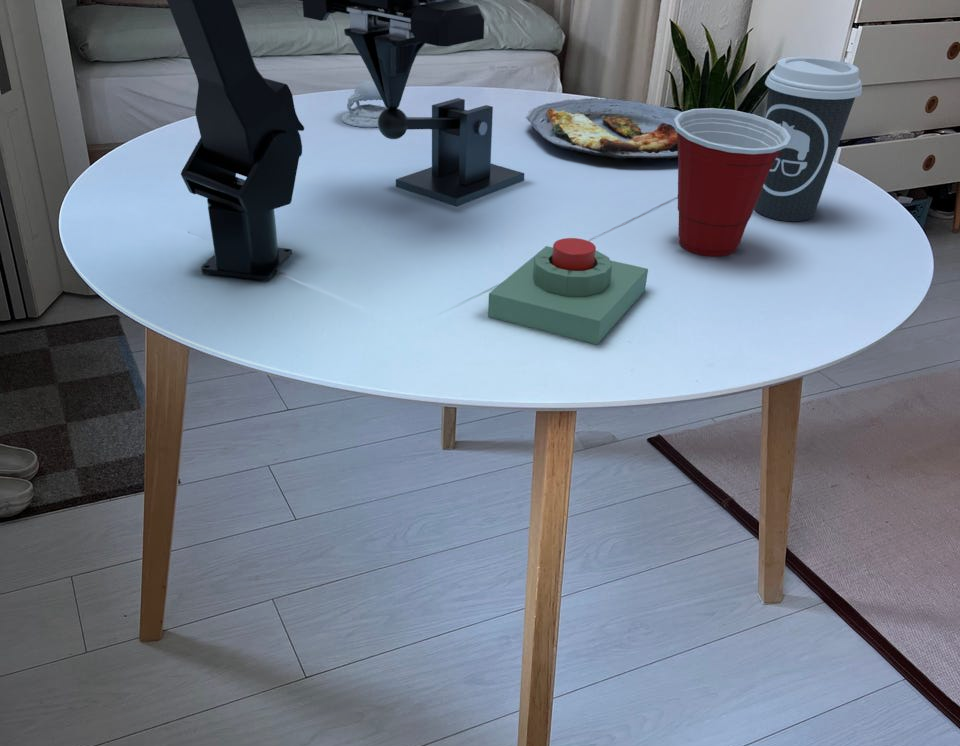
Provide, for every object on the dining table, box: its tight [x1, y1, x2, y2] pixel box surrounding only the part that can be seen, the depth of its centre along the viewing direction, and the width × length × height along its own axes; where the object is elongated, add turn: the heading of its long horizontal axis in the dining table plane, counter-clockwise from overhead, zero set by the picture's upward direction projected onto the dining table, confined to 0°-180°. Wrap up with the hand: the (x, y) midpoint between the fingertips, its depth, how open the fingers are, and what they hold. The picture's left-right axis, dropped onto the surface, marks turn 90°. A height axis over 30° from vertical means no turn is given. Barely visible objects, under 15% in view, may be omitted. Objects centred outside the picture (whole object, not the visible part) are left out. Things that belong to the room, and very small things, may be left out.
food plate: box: [525, 97, 682, 160], centre depth 119 cm, size 25×23×4 cm
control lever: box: [377, 107, 468, 140], centre depth 96 cm, size 14×3×3 cm, turn 141°
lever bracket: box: [395, 97, 525, 207], centre depth 101 cm, size 12×9×9 cm
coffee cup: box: [754, 56, 863, 222], centre depth 97 cm, size 10×10×15 cm
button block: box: [487, 245, 649, 346], centre depth 79 cm, size 12×10×4 cm
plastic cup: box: [674, 107, 791, 258], centre depth 88 cm, size 11×11×12 cm
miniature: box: [341, 80, 387, 128], centre depth 124 cm, size 8×8×5 cm
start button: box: [552, 237, 597, 271], centre depth 78 cm, size 4×4×2 cm
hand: (392, 107), depth 91 cm, fingers closed
